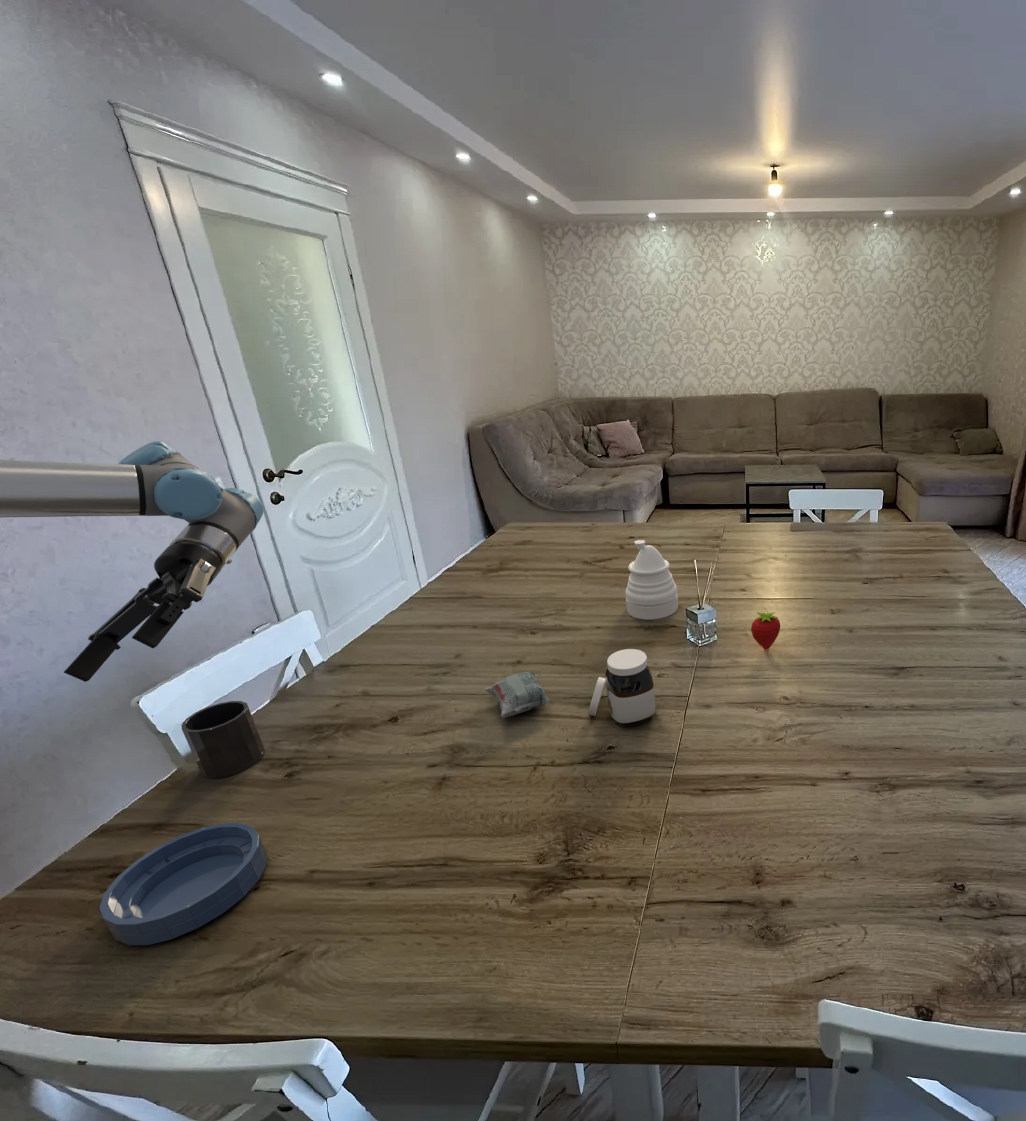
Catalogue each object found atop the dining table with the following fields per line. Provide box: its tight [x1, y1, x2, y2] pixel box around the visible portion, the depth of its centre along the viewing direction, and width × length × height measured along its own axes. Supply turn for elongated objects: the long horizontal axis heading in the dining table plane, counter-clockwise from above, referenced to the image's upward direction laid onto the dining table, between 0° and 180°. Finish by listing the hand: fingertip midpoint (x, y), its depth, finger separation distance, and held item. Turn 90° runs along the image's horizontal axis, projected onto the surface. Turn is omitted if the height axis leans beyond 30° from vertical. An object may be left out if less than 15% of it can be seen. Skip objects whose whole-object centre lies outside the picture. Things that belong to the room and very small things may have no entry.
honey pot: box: [624, 539, 679, 620], centre depth 144 cm, size 13×13×18 cm
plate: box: [99, 822, 268, 946], centre depth 72 cm, size 14×14×4 cm
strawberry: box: [750, 608, 782, 651], centre depth 126 cm, size 6×8×10 cm
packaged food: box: [485, 670, 550, 720], centre depth 108 cm, size 9×12×5 cm
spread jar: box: [587, 648, 656, 727], centre depth 104 cm, size 12×11×12 cm
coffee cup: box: [181, 700, 266, 780], centre depth 94 cm, size 8×8×9 cm
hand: (109, 659), depth 81 cm, fingers open, 13 cm apart
